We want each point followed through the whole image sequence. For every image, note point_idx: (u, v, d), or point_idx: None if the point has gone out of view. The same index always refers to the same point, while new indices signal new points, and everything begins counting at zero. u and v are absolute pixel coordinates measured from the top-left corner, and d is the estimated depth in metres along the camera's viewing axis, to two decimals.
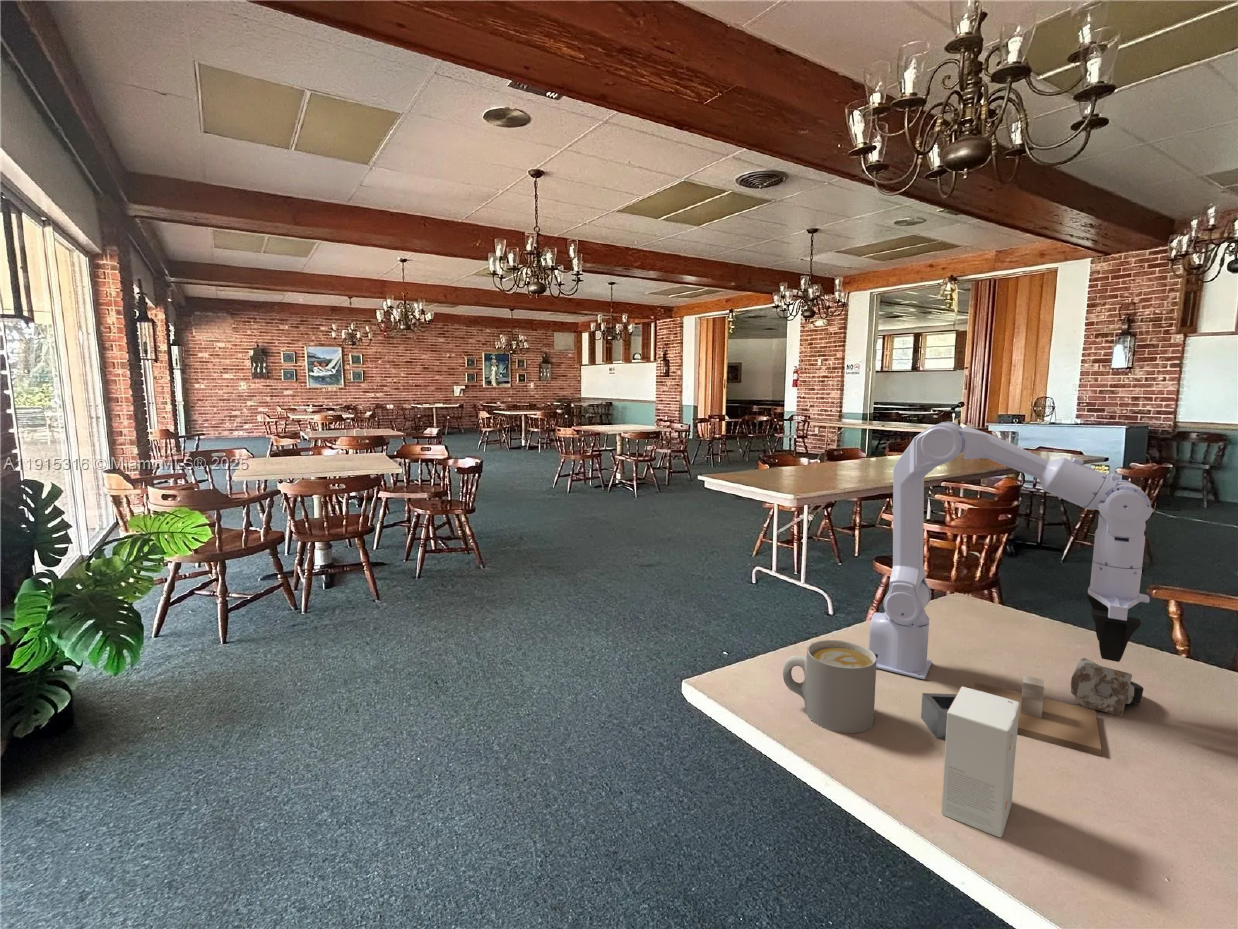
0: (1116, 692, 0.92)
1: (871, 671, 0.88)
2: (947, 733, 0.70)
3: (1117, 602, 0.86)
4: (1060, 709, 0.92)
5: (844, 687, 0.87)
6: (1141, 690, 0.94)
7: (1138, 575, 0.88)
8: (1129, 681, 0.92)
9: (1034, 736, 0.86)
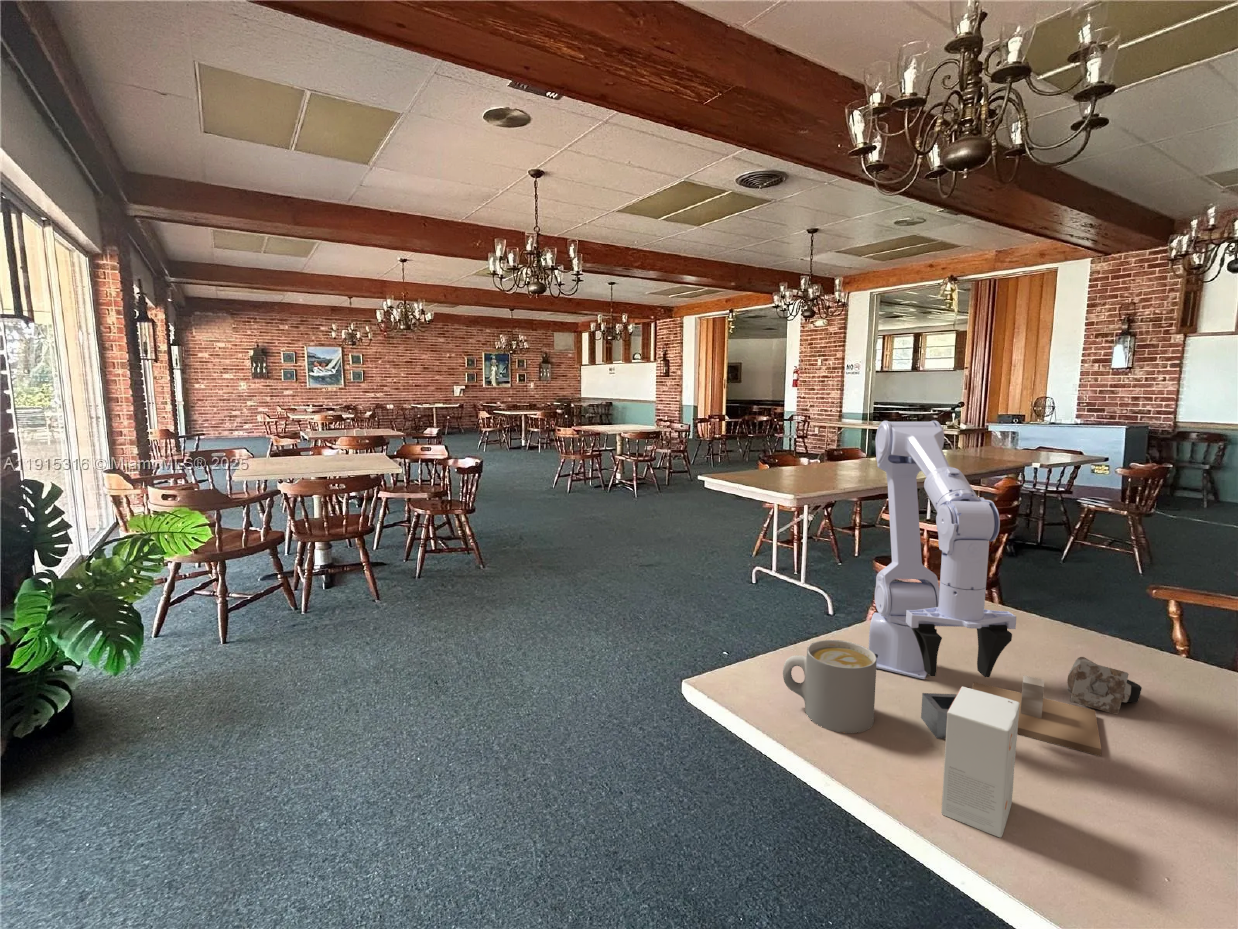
0: (1112, 690, 0.93)
1: (871, 671, 0.88)
2: (947, 733, 0.70)
3: (922, 612, 0.87)
4: (1060, 709, 0.92)
5: (844, 687, 0.87)
6: (1139, 689, 0.94)
7: (960, 596, 0.84)
8: (1125, 680, 0.93)
9: (1034, 736, 0.86)
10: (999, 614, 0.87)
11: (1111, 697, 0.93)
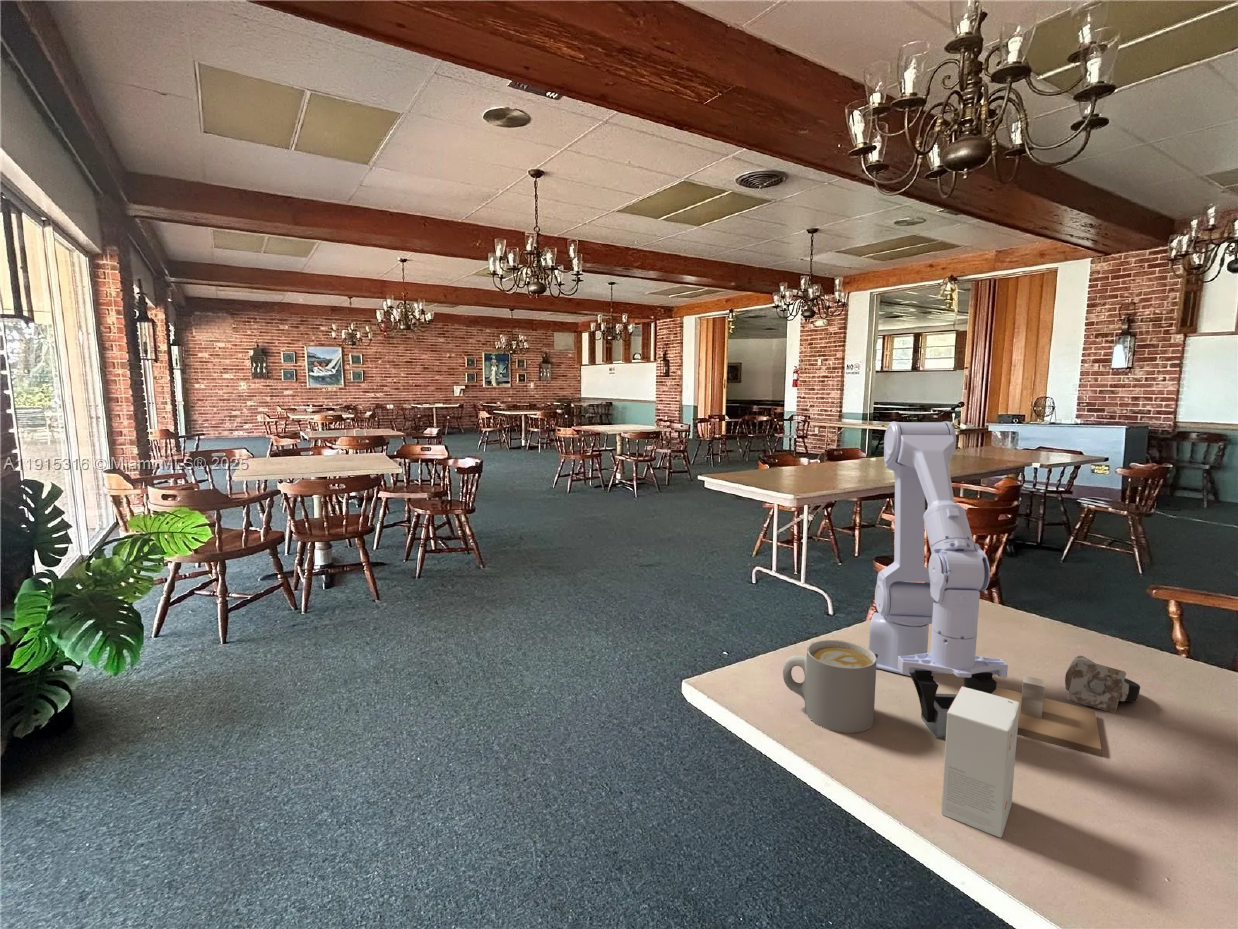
0: (1109, 689, 0.93)
1: (871, 671, 0.88)
2: (947, 733, 0.70)
3: (913, 659, 0.88)
4: (1060, 709, 0.92)
5: (844, 687, 0.87)
6: (1137, 688, 0.94)
7: (951, 645, 0.85)
8: (1123, 679, 0.93)
9: (1034, 736, 0.86)
10: (991, 662, 0.87)
11: (1108, 696, 0.93)
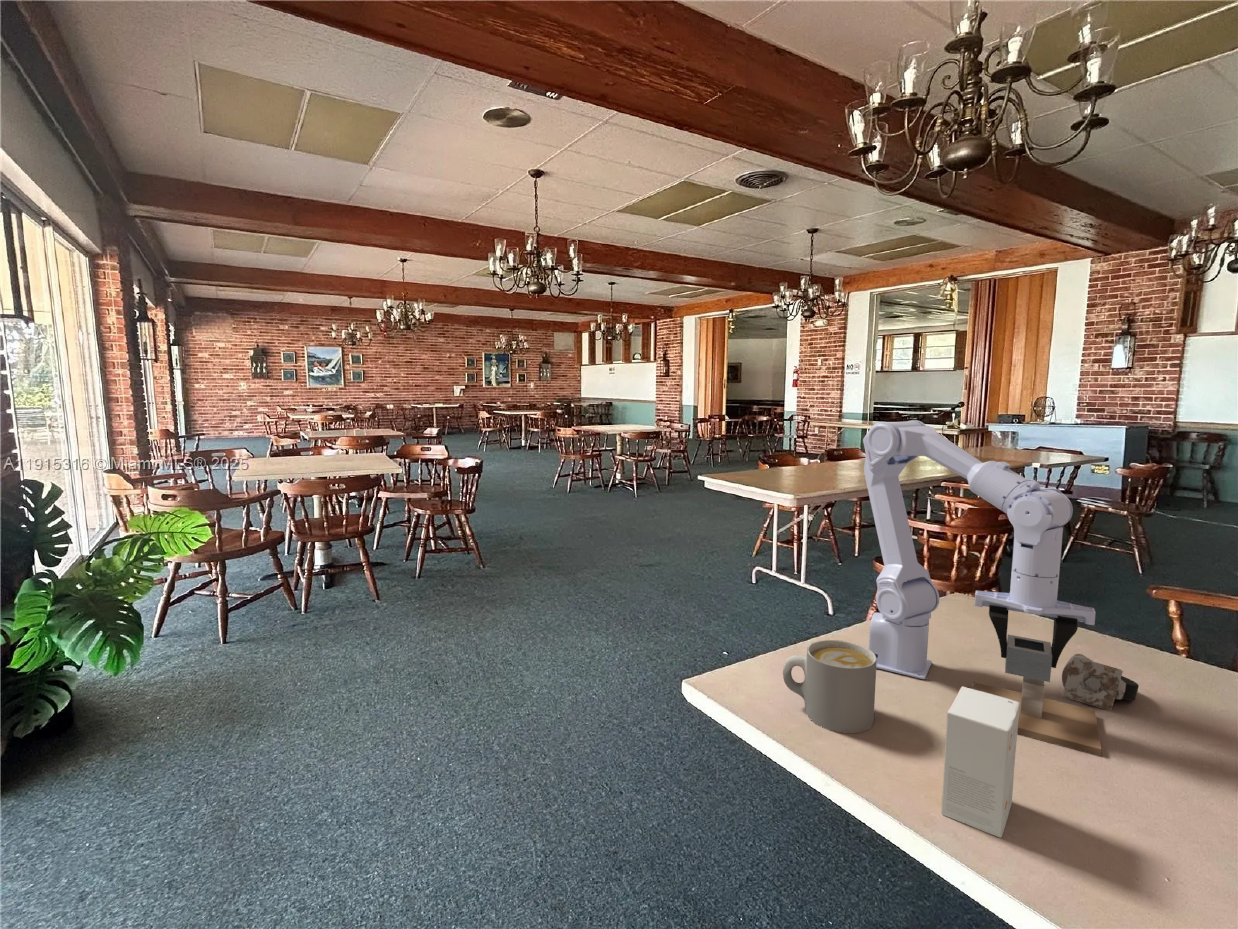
0: (1105, 687, 0.94)
1: (871, 671, 0.88)
2: (947, 733, 0.70)
3: (989, 594, 0.92)
4: (1060, 709, 0.92)
5: (844, 687, 0.87)
6: (1134, 687, 0.95)
7: (1023, 581, 0.87)
8: (1119, 677, 0.94)
9: (1034, 736, 0.86)
10: (1078, 608, 0.86)
11: (1104, 693, 0.94)
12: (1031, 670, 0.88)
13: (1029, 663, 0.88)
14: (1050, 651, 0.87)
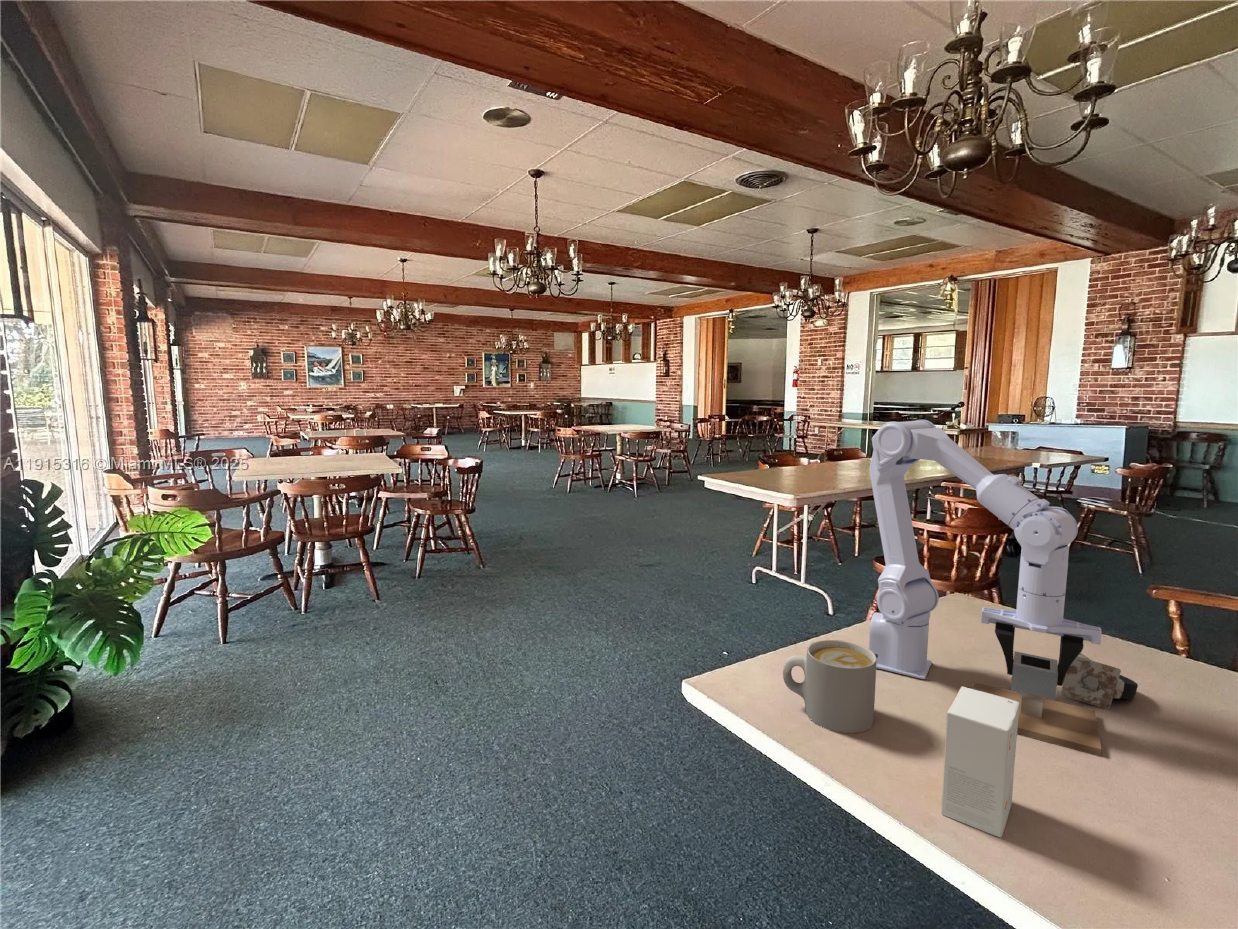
0: (1103, 686, 0.94)
1: (871, 671, 0.88)
2: (947, 733, 0.70)
3: (996, 611, 0.93)
4: (1060, 709, 0.92)
5: (844, 687, 0.87)
6: (1133, 686, 0.95)
7: (1028, 600, 0.88)
8: (1117, 676, 0.94)
9: (1034, 736, 0.86)
10: (1084, 627, 0.86)
11: (1102, 692, 0.94)
12: (1037, 688, 0.88)
13: (1035, 681, 0.88)
14: (1056, 669, 0.88)
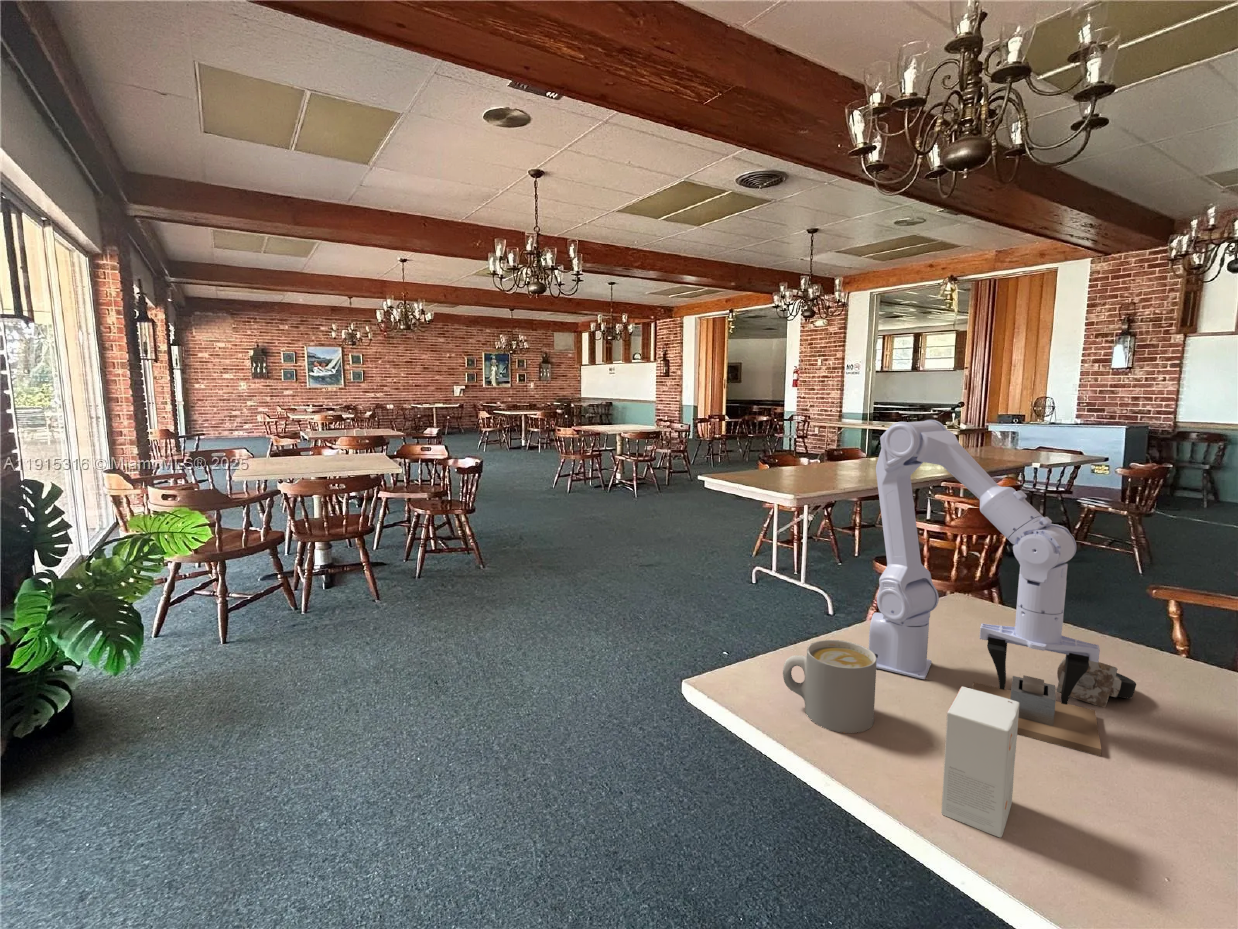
0: (1100, 684, 0.95)
1: (871, 671, 0.88)
2: (947, 733, 0.70)
3: (994, 627, 0.93)
4: (1060, 709, 0.92)
5: (844, 687, 0.87)
6: (1131, 685, 0.95)
7: (1027, 617, 0.88)
8: (1114, 674, 0.94)
9: (1034, 736, 0.86)
10: (1082, 645, 0.87)
11: (1098, 690, 0.95)
12: (1034, 714, 0.89)
13: (1033, 707, 0.89)
14: (1054, 695, 0.89)
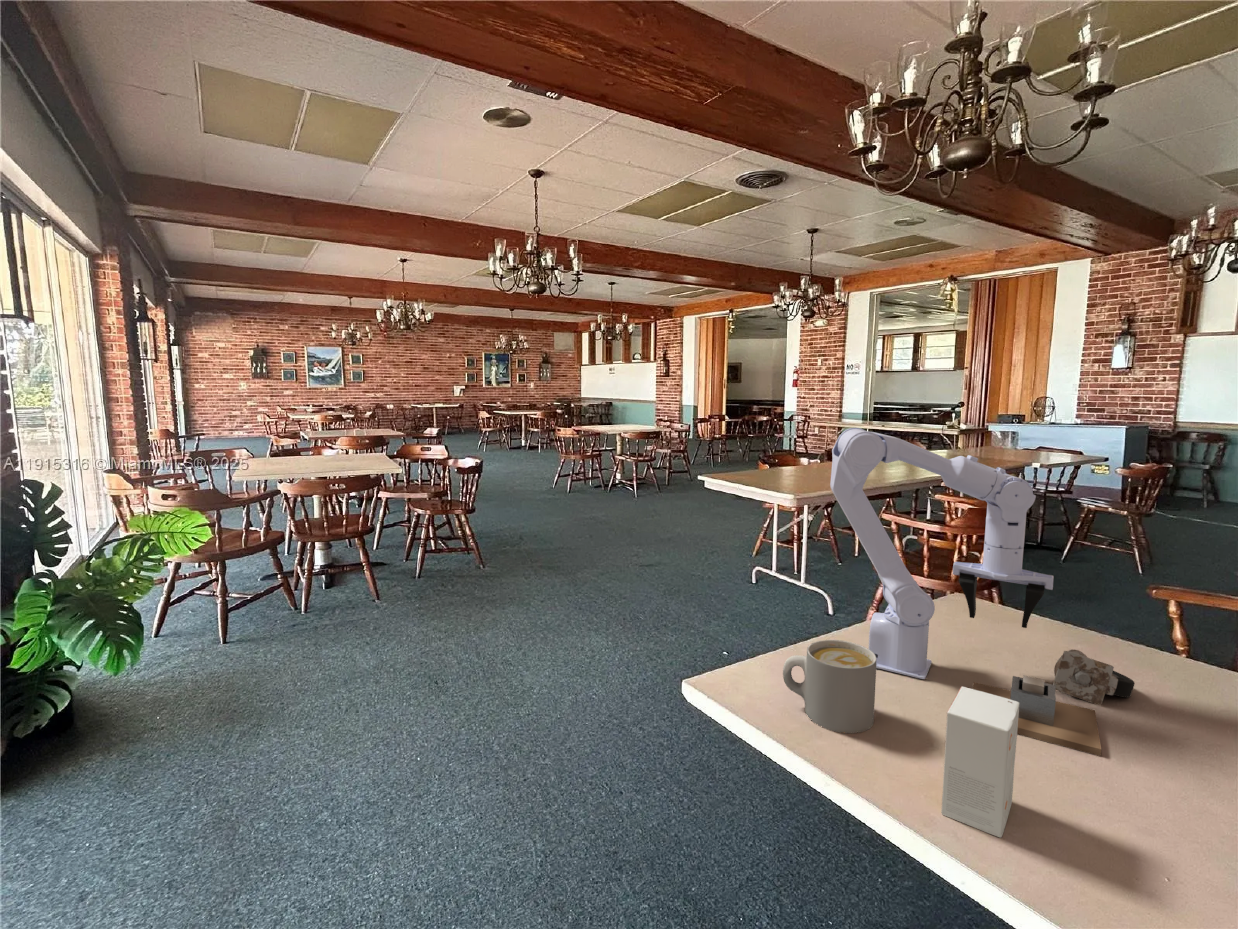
0: (1096, 682, 0.96)
1: (871, 671, 0.88)
2: (947, 733, 0.70)
3: (965, 564, 1.07)
4: (1060, 709, 0.92)
5: (844, 687, 0.87)
6: (1128, 684, 0.96)
7: (992, 552, 1.02)
8: (1110, 673, 0.95)
9: (1034, 736, 0.86)
10: (1039, 575, 1.01)
11: (1094, 688, 0.96)
12: (1034, 714, 0.89)
13: (1033, 707, 0.89)
14: (1054, 695, 0.89)
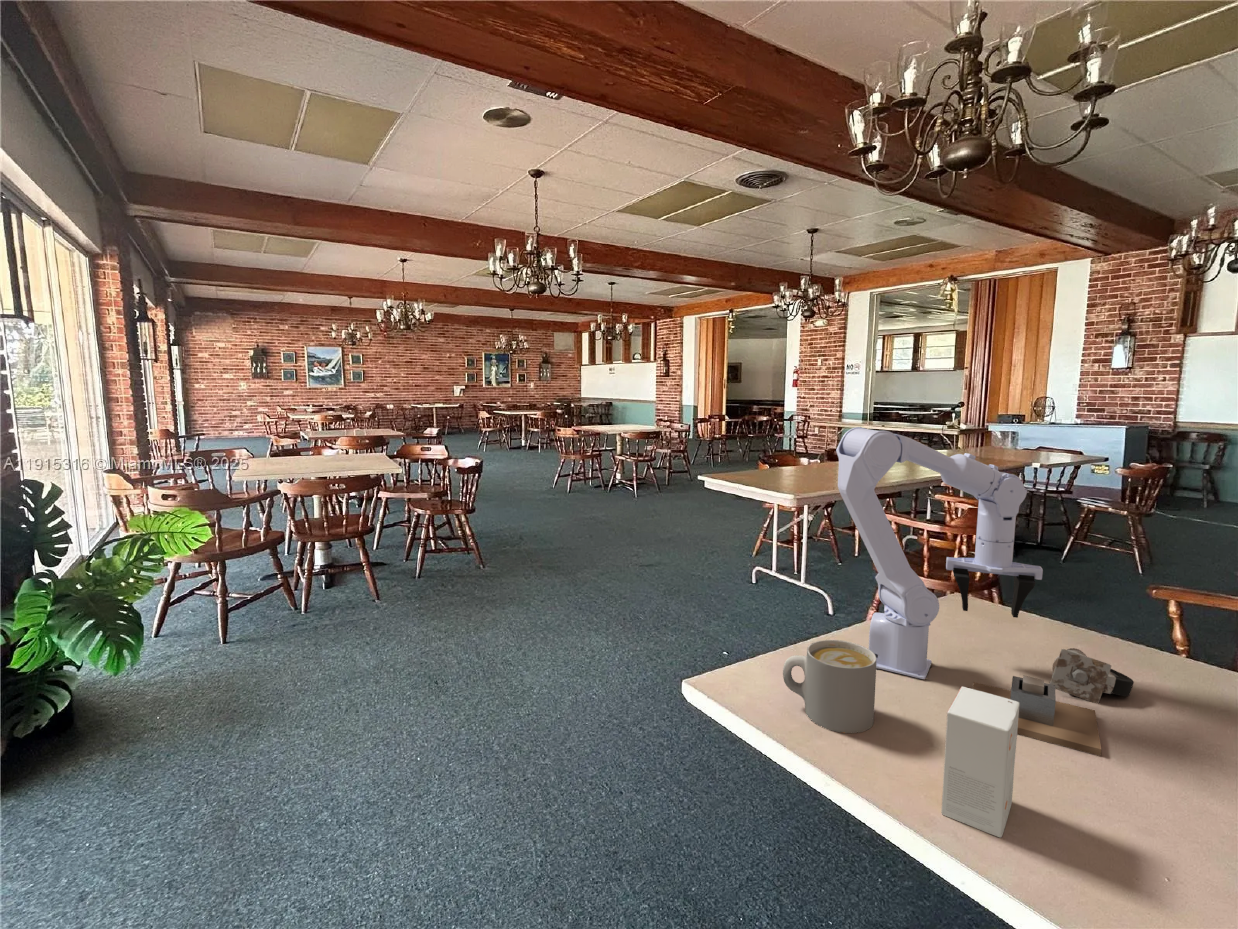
0: (1093, 680, 0.96)
1: (871, 671, 0.88)
2: (947, 733, 0.70)
3: (958, 559, 1.10)
4: (1060, 709, 0.92)
5: (844, 687, 0.87)
6: (1126, 683, 0.96)
7: (986, 547, 1.06)
8: (1108, 671, 0.95)
9: (1034, 736, 0.86)
10: (1028, 567, 1.06)
11: (1092, 686, 0.96)
12: (1034, 714, 0.89)
13: (1033, 707, 0.89)
14: (1054, 695, 0.89)
